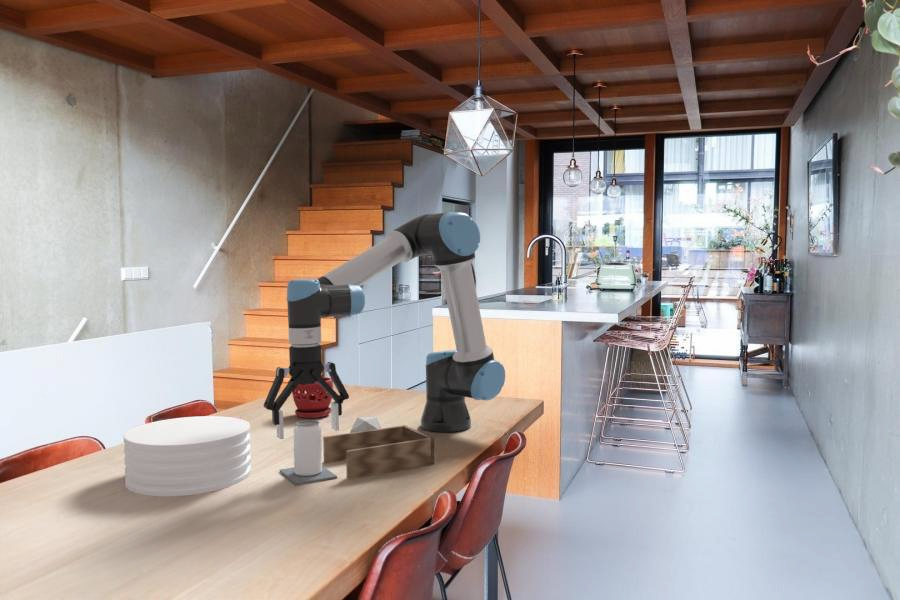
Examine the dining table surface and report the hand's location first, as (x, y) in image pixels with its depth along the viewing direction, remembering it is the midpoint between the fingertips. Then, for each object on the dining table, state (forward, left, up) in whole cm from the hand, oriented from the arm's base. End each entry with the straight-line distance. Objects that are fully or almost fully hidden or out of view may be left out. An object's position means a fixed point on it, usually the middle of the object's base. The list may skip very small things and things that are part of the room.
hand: (308, 433), depth 172 cm
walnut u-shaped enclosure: (-18, 0, -10) cm, 21 cm away
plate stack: (+25, -14, -10) cm, 30 cm away
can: (0, 0, -10) cm, 10 cm away
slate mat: (0, 0, -10) cm, 10 cm away
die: (-22, -15, -10) cm, 28 cm away
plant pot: (-23, -60, -10) cm, 65 cm away
